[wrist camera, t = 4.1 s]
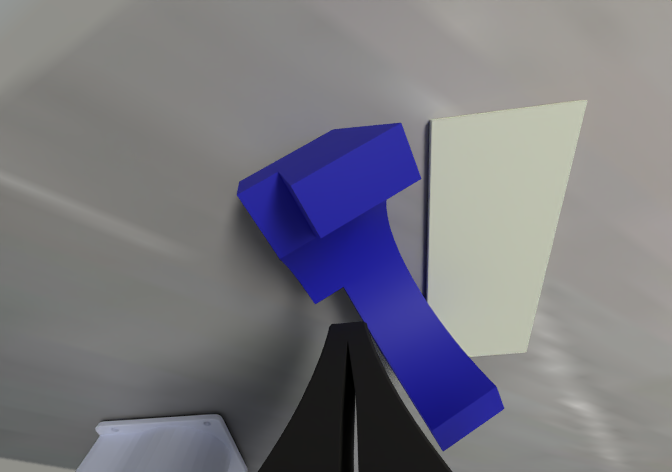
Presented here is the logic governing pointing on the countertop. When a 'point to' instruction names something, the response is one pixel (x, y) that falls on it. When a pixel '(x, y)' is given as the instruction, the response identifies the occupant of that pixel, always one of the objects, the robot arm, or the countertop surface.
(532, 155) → the mat
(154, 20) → the countertop surface
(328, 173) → the cable clip
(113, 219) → the countertop surface
